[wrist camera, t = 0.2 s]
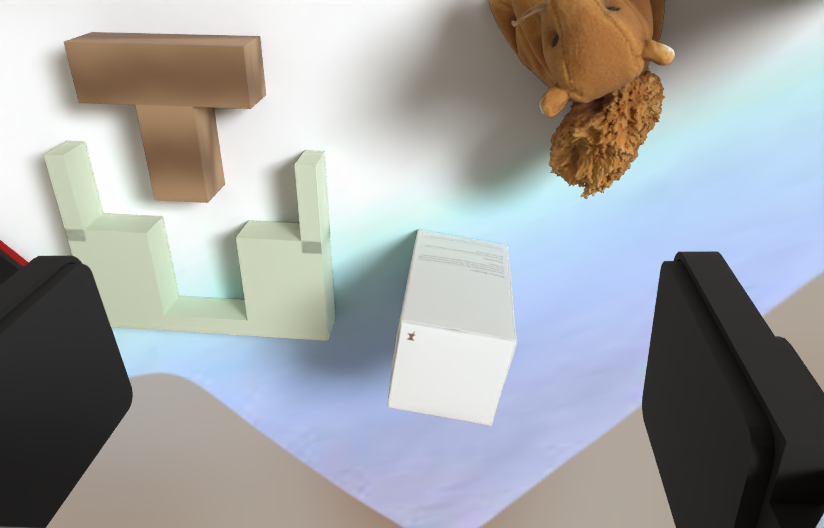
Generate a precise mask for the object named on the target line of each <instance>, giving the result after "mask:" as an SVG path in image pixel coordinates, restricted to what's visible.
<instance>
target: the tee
mask: <svg viewBox="0 0 824 528" xmlns="http://www.w3.org/2000/svg"><path fill="white" fill-rule="evenodd" d="M64 45H65V49H66V53H67V57H68V61H69V65H70V69H71V73H72V77H73V81H74V85H75V89H76V93H77V97H78V101H79V103H98V104H127V105H135V106H136V111H137V116H138V121H139V125H140V130H141V135H142V140H143V145H144V150H145V155H146V159H147V164H148V169H149V174H150V179H151V184H152V189H153V194H154V198H155V200H163V201H184V202H205V203H208V202H209V201H210V200H211V199H212V198H213V197H214V196H215V195H216V193H217V192H218V191H219V190H220V189H221V188H222V187H223V186H224V185H225V181H224V174H223V167H222V160H221V153H220V146H219V140H218V133H217V126H216V119H215V112H214V108H243V109H251V108H252V107H253V106H254V105H255V104H257V103H258V102H259V101H260V100H261V99H262V98H263V97H264V96H266V88H265V79H264V69H263V60H262V50H261V41H260V36H228V35H187V34H146V33H105V32H91V33H88V34H85V35H82V36H79V37H76V38H73V39H71V40H68V41H65V42H64Z"/></svg>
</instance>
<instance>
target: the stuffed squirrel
mask: <svg viewBox="0 0 824 528" xmlns="http://www.w3.org/2000/svg"><path fill="white" fill-rule="evenodd" d="M490 8H491V11H492V13H493V16H494V18H495V20H496V22H497V24H498V26H499V28H500V29H501V31H502V33H503V34H504V36H505V37H506V39H507V41H508V42H509V44H510V45H511V47H512V48H513V50H514V51H515V52H516V54H517V55H518V57H519V59H520V60H521V62H522V63H523V64H524V65H525V66H527V67H528V68H529V69H530V70H532V71H533V72H534V73H535V74H536V75H537V76H538V77H539V78H540V79H541V80H542V81H543V82H544V83H545V84H546V85H547V86H548V87H549V89H548V90H547V91H546V93H545V94H544V96H543V97H542V99H541V101H540V105H539V107H540V110H541V112H542V114H544V115H545V116H547V117H549V118H551V117H553V116H555V115H557V114H558V113H559V112H560V111H561V110H562V109H563V108H564V107H565V105H566V104H567V103H568V101H569V100H570V101H574V102H573V105H572V106H571V109H573V110H571V111H570V112H569V113H568V114H567V115H566V116H565V118H564V119H563V121H562V122H561V124H560V126H559V127H558V128H557V129H556V133H554V134H553V136H552V138H551V143H552V146H551V149H550V150H551V153H550V157H551V158H550V161H549V165H550V166H551V167H552V172H550V173H555V174H557V176H561V177H562V178H563V179H564V180H565V181H567V183H568V184H569V186H570V185H573V186H574V185H576V184H579V187H581V186H582V187H584V186H585V189H584V192H583V193H582V195H581V197H584V198H585V199H587V198H588V196H589V195H590V194H592V196H595V193H596V192H597V191H600V192H601V193H602V192H603V193H604V190H605V188H606V187H607V188H609V187H610V186H611V185H612V183H613V181H614V180H619V179H620V177H621V176H622V175H624V173H625V171H626V170H627V168H628V169H630V162H633V161H634V160H635V159H636V158H637V157H638V153H637V151H638V148H639V146H640V145H643V144H644V141H645V140H646V138H647V134H648V132H649V131H650V130H652V129H653V128H654V126H655V123H656V122H659V120H658V119H659V118H660V117H659V113H660V114H661V111H662V109H661V106H662V100H663V99H664V98H665V97H664V96H663V95H662V94H663V89H664V88H663V87H662V84H661V82H660V78H659V77H658V76H656V75H655V74H654V73H653V74H651V73H650V71H649V70H648V69H649V68H647V67H648V65H649V63H650V61H652V62H654V63H656V64H658V65H668V64H670V63H671V62H672V61H673V59H674V56H675V53H674V51H673V49H672V48H670V47H668V46H666V45H664V44H661V43H659V40H660V36H661V31H662V24H663V17H664V9H665V0H491V1H490ZM584 183H585V185H584Z"/></svg>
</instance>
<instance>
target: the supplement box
mask: <svg viewBox="0 0 824 528" xmlns="http://www.w3.org/2000/svg"><path fill="white" fill-rule="evenodd" d="M516 345H517V337H516V330H515V321H514V309H513V296H512V284H511V272H510V263H509V253H508V246H507V245H506V244H500V243H495V242H489V241H483V240H477V239H472V238H466V237H460V236H454V235H449V234H443V233H437V232H431V231H426V230H420V229H419V230H418V232H417V236H416V240H415V245H414V250H413V254H412V259H411V264H410V269H409V275H408V280H407V285H406V290H405V295H404V300H403V305H402V310H401V315H400V320H399V326H398V331H397V336H396V342H395V349H394V356H393V363H392V371H391V379H390V388H389V397H388V407H389V408H394V409H400V410H406V411H412V412H418V413H423V414H429V415H434V416H440V417H446V418H451V419H457V420H463V421H468V422H474V423H479V424H484V425H492V422H493V418H494V415H495V411H496V408H497V405H498V401H499V398H500V395H501V392H502V389H503V386H504V383H505V380H506V377H507V373H508V370H509V367H510V364H511V361H512V358H513V355H514V351H515V348H516Z"/></svg>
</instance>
